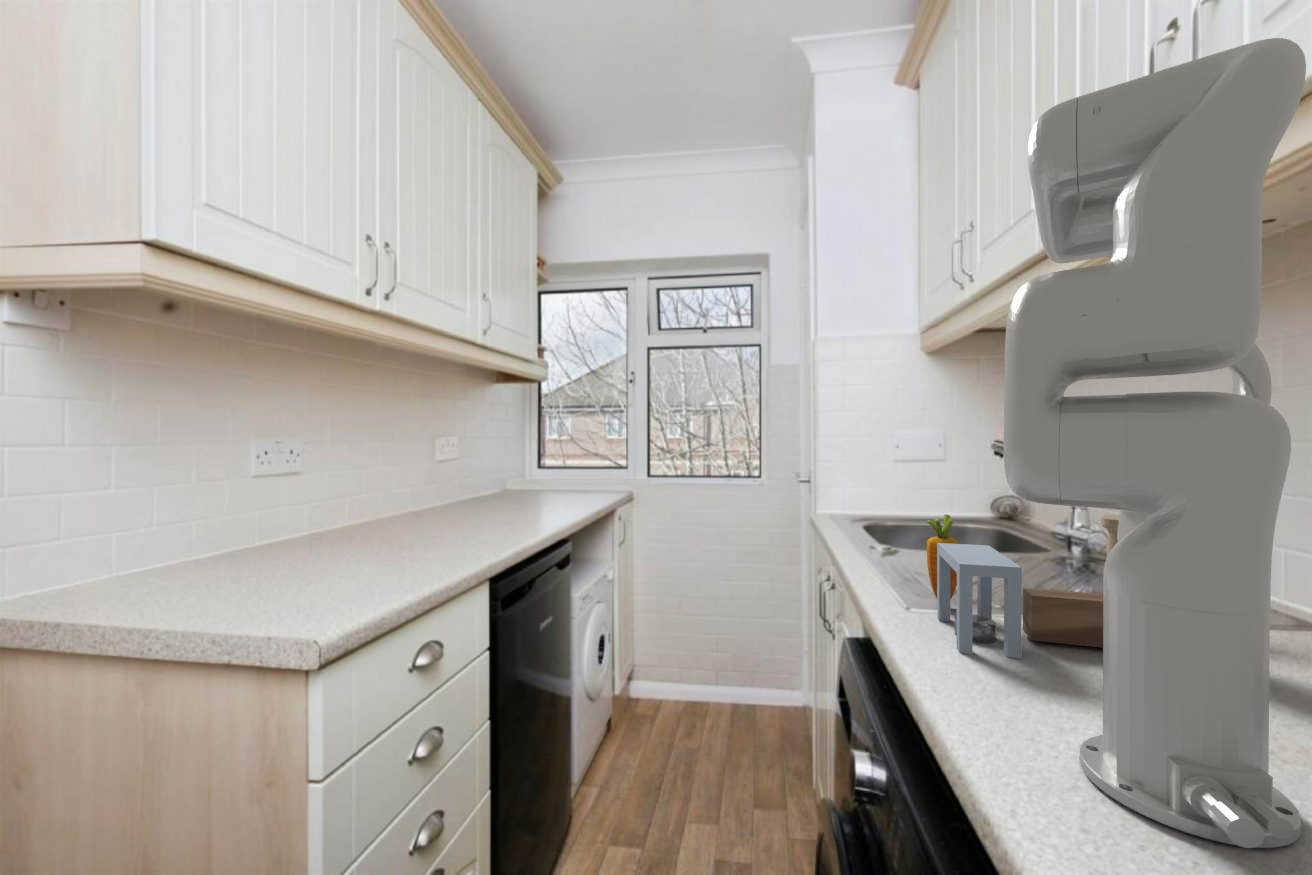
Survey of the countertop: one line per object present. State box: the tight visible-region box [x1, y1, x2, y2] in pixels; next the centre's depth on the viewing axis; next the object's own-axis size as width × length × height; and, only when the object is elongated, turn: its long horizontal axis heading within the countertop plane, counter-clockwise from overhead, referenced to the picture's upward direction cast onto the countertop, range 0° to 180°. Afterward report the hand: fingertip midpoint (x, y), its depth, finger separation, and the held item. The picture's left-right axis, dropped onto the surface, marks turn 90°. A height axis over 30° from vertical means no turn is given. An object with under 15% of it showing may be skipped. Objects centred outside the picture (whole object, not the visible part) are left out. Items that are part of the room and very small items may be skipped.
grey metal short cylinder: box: [954, 614, 997, 644], centre depth 77 cm, size 5×5×2 cm
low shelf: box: [936, 543, 1023, 660], centre depth 77 cm, size 14×7×12 cm, turn 164°
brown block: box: [1022, 587, 1103, 649], centre depth 73 cm, size 4×18×6 cm, turn 71°
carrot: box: [926, 513, 961, 601], centre depth 90 cm, size 5×5×15 cm
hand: (1153, 640), depth 72 cm, fingers closed on brown block, 4 cm apart
